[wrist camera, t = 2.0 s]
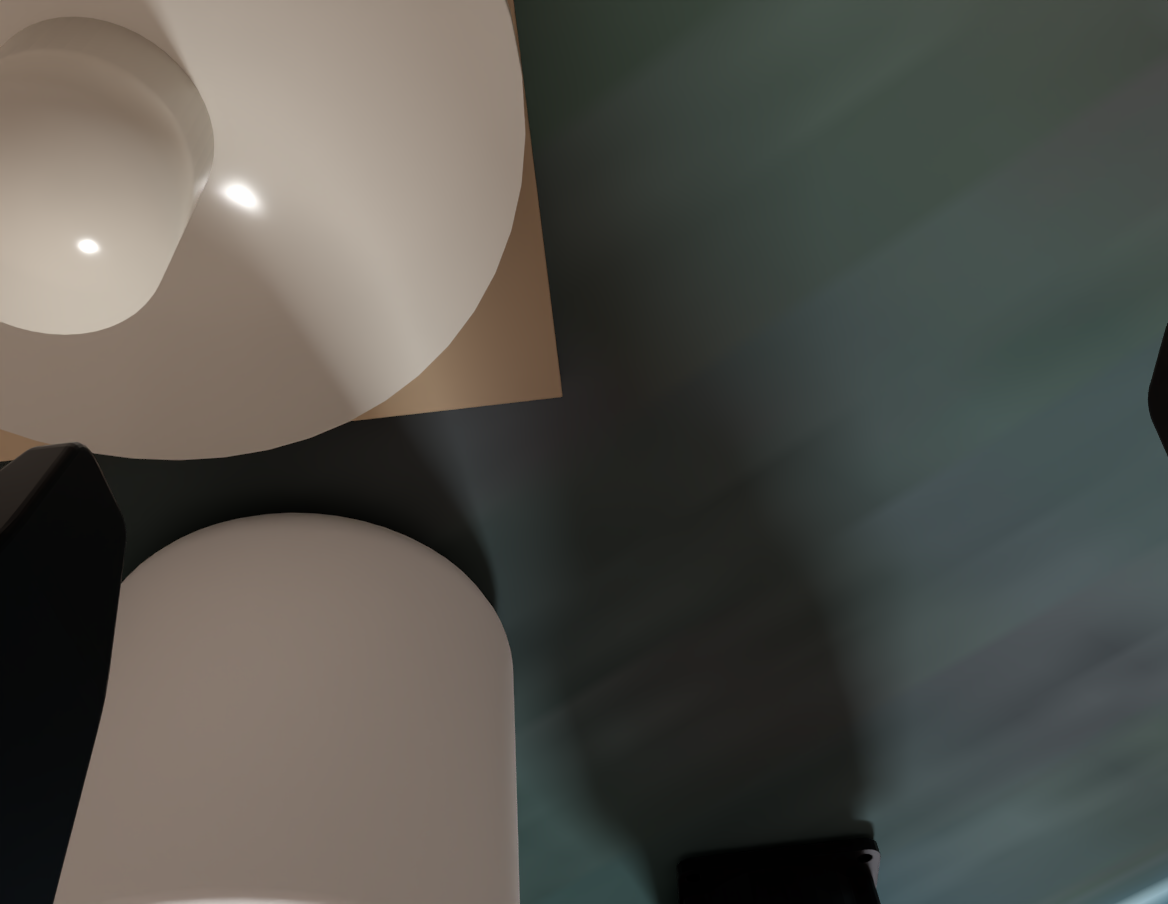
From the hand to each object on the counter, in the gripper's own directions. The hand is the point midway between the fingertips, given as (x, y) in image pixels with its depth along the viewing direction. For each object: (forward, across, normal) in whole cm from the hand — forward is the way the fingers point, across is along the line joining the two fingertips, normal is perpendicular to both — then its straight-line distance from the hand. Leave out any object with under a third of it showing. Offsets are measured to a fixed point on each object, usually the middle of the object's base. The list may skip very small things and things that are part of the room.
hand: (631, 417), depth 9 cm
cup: (+12, +8, +15) cm, 21 cm away
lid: (+12, +8, +1) cm, 14 cm away
